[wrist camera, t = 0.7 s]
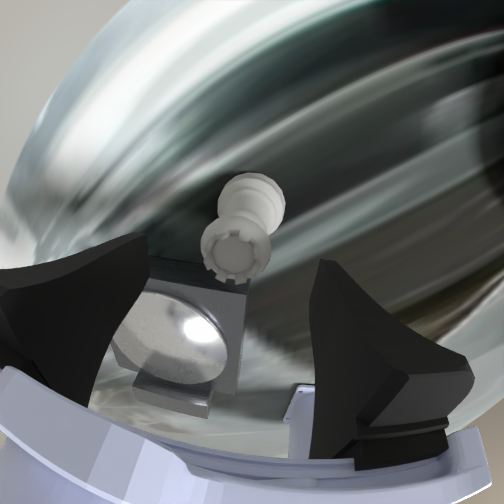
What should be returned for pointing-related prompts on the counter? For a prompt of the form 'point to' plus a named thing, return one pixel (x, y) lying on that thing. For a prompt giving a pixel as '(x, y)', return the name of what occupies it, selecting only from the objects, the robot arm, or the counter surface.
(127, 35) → the counter surface
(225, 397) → the counter surface
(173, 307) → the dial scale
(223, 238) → the rook chess piece
